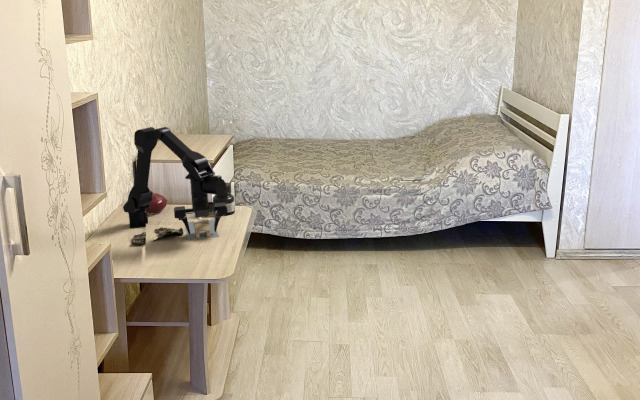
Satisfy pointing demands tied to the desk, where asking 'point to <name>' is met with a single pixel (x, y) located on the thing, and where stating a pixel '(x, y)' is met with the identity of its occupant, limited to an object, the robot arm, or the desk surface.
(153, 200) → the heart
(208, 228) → the block
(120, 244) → the desk surface
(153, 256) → the desk surface
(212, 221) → the pin plate
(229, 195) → the ink bottle
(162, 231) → the decorative rock
